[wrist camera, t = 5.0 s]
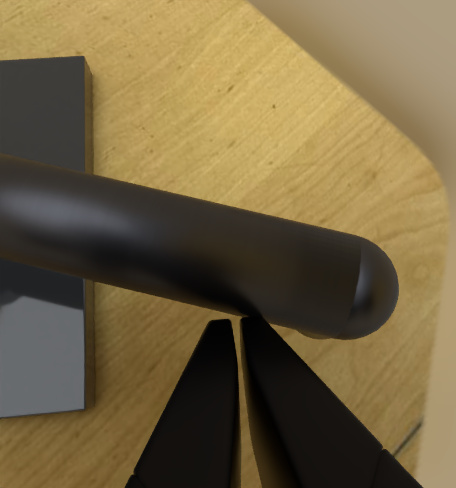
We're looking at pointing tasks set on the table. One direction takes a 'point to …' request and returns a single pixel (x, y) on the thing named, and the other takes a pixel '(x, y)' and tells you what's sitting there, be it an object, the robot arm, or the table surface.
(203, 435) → the robot arm
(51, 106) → the black flat block
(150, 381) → the table surface
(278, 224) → the spout
